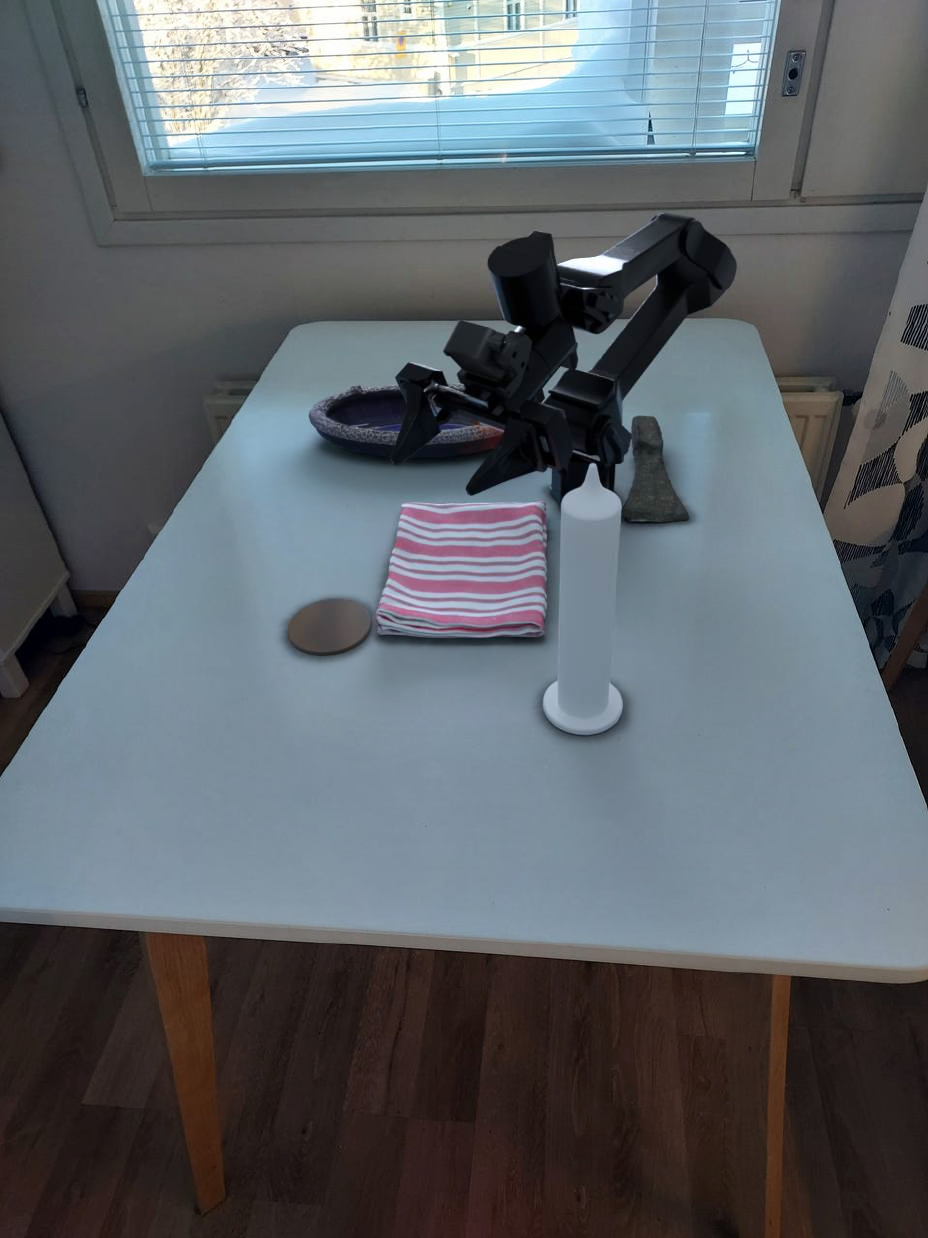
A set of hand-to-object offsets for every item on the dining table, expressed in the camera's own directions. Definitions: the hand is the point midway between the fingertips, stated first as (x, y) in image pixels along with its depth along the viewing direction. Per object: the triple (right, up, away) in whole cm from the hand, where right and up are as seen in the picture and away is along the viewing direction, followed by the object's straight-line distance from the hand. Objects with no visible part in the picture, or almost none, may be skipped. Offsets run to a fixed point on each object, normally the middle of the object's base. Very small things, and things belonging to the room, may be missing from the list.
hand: (429, 476), depth 85 cm
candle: (+14, -21, -2) cm, 25 cm away
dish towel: (+4, -8, +15) cm, 17 cm away
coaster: (-10, -14, +9) cm, 19 cm away
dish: (-2, +11, +38) cm, 39 cm away
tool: (+27, +4, +27) cm, 38 cm away
